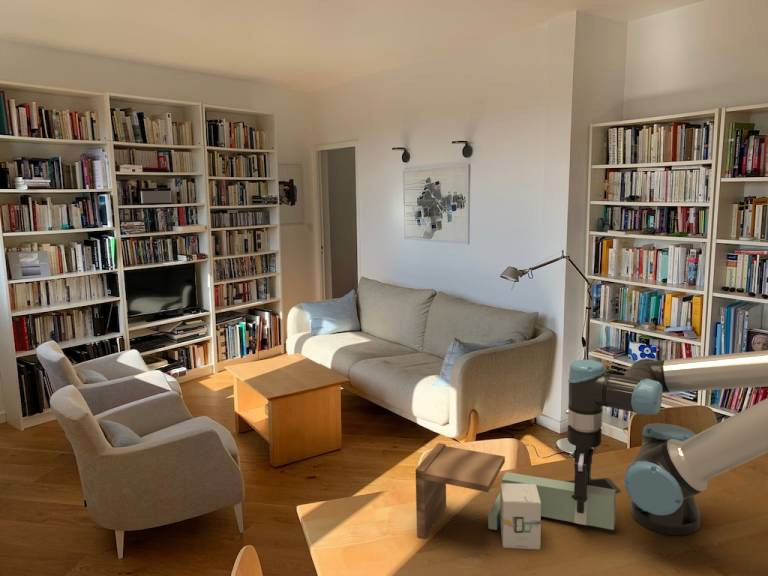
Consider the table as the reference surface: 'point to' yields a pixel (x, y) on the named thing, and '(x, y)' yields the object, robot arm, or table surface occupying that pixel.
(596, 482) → the cell phone
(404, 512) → the table surface
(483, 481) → the shelf
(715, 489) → the table surface
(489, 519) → the sage green box
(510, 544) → the ink box
